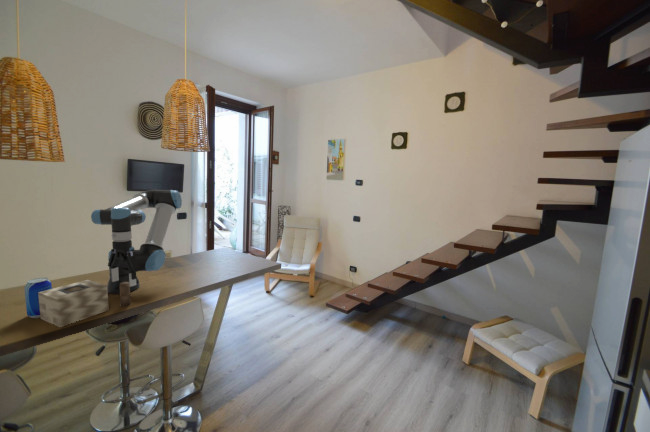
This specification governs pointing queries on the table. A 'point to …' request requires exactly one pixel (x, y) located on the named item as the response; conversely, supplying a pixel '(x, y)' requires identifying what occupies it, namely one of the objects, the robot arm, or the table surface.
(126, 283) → the peg
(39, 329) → the table surface
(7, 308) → the table surface
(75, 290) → the tissue box
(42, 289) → the beer can
